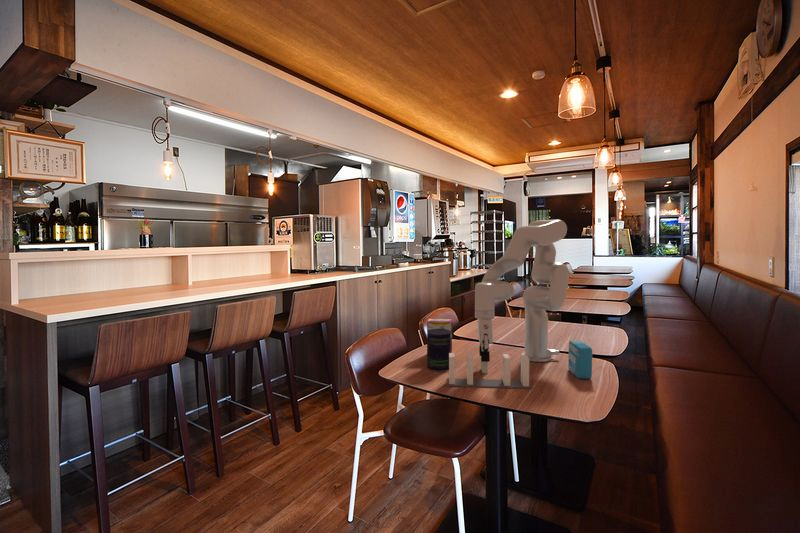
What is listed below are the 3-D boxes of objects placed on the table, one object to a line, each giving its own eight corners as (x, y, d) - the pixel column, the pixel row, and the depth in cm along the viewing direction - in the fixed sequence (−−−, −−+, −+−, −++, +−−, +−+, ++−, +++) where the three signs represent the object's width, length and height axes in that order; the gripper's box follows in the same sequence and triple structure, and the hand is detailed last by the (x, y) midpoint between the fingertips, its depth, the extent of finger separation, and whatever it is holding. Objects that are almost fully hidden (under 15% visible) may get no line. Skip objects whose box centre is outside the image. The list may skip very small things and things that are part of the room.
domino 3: (508, 380, 149) (508, 354, 148) (510, 385, 144) (510, 358, 143) (502, 380, 149) (502, 354, 148) (504, 385, 144) (504, 358, 143)
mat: (527, 381, 149) (527, 380, 149) (531, 388, 142) (531, 387, 142) (446, 379, 153) (446, 378, 153) (447, 386, 145) (447, 385, 145)
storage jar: (447, 372, 160) (447, 335, 159) (423, 369, 163) (423, 333, 162) (453, 364, 169) (453, 329, 168) (430, 362, 173) (430, 328, 171)
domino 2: (472, 379, 150) (472, 353, 150) (473, 384, 145) (473, 357, 145) (466, 379, 151) (466, 353, 150) (467, 384, 146) (467, 357, 145)
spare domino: (486, 369, 164) (486, 344, 163) (487, 373, 159) (487, 348, 158) (481, 368, 164) (481, 344, 163) (482, 373, 159) (482, 348, 158)
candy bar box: (426, 357, 180) (426, 320, 179) (427, 353, 185) (427, 318, 184) (452, 357, 179) (452, 321, 178) (451, 354, 184) (451, 318, 183)
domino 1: (454, 379, 151) (454, 353, 150) (454, 384, 146) (454, 357, 145) (449, 379, 151) (449, 352, 151) (449, 384, 146) (449, 356, 146)
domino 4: (526, 381, 148) (526, 354, 147) (528, 386, 143) (529, 358, 142) (520, 381, 148) (520, 354, 148) (523, 386, 143) (523, 358, 143)
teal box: (568, 369, 162) (568, 339, 161) (579, 369, 162) (580, 339, 161) (579, 380, 150) (580, 348, 149) (591, 380, 150) (592, 348, 149)
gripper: (497, 318, 150) (496, 365, 152) (491, 310, 168) (491, 352, 169) (476, 318, 151) (476, 365, 153) (473, 309, 168) (473, 352, 170)
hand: (484, 358), depth 161 cm, fingers open, 6 cm apart
